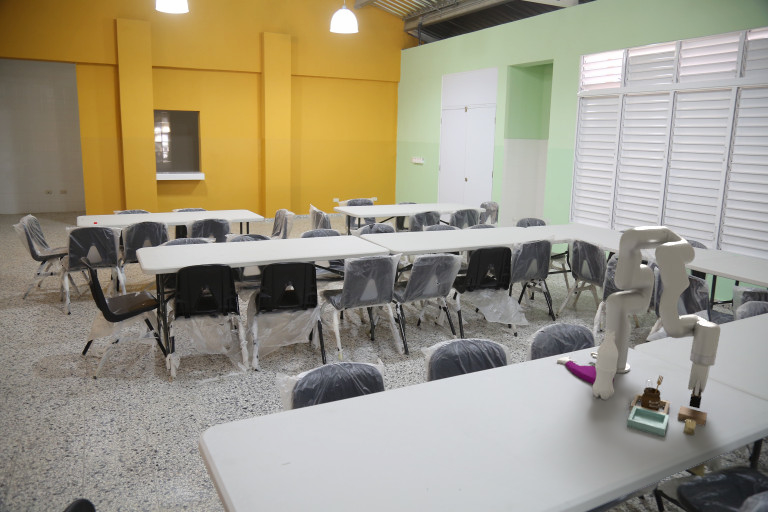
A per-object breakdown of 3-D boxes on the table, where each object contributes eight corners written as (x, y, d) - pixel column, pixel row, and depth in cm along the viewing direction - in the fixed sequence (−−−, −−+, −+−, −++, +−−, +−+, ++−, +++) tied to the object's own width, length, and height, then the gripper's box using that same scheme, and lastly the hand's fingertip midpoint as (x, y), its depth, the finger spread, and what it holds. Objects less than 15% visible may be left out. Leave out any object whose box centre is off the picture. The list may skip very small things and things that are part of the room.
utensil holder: (636, 406, 202) (641, 374, 200) (650, 403, 205) (655, 372, 202) (649, 414, 197) (654, 381, 194) (663, 411, 199) (668, 379, 196)
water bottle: (609, 392, 212) (618, 328, 206) (615, 401, 205) (624, 335, 199) (589, 391, 213) (597, 327, 207) (594, 400, 206) (602, 334, 200)
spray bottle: (595, 388, 216) (550, 363, 238) (616, 383, 221) (571, 359, 242) (596, 381, 215) (551, 357, 237) (617, 376, 220) (571, 353, 242)
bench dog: (683, 433, 185) (685, 421, 184) (684, 429, 188) (686, 418, 187) (693, 436, 184) (695, 424, 183) (694, 432, 186) (696, 420, 185)
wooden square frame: (630, 410, 199) (631, 405, 199) (635, 398, 208) (636, 393, 208) (665, 419, 193) (666, 414, 193) (669, 406, 202) (670, 401, 202)
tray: (627, 426, 189) (628, 419, 188) (632, 412, 198) (633, 405, 197) (663, 436, 183) (664, 429, 182) (668, 422, 192) (669, 415, 191)
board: (677, 419, 195) (678, 412, 194) (679, 412, 200) (680, 406, 199) (704, 427, 190) (705, 420, 190) (705, 419, 195) (707, 412, 195)
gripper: (692, 348, 205) (684, 395, 209) (688, 362, 193) (680, 412, 197) (716, 353, 201) (708, 401, 205) (714, 367, 189) (705, 418, 193)
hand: (694, 406), depth 201 cm, fingers closed
